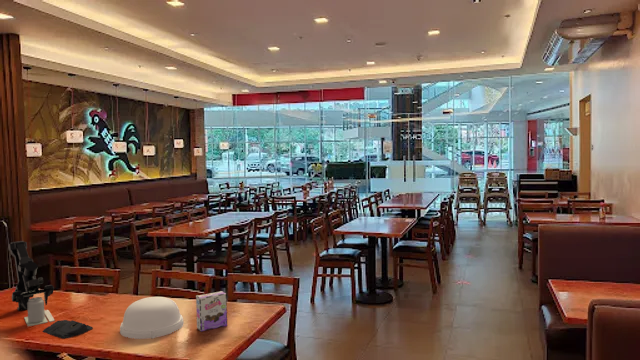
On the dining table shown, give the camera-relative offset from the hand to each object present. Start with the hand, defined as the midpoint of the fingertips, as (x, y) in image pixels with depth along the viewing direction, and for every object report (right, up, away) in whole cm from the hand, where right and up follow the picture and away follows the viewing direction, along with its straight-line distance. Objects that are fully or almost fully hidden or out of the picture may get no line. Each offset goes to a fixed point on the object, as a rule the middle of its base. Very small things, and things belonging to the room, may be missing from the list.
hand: (36, 306), depth 250 cm
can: (-1, -8, +2) cm, 8 cm away
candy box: (+94, -7, -11) cm, 94 cm away
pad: (-3, -8, +5) cm, 10 cm away
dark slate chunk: (+22, -9, -11) cm, 26 cm away
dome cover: (+63, -8, -9) cm, 64 cm away
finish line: (0, -8, +11) cm, 14 cm away
